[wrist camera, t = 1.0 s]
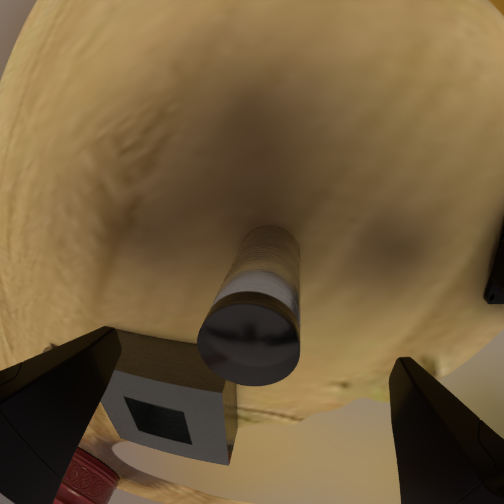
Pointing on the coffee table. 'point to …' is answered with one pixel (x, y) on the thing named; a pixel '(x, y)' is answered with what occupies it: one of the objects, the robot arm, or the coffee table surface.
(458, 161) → the coffee table surface
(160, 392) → the chuck block
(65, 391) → the robot arm
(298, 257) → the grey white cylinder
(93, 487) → the canister
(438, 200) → the coffee table surface
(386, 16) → the coffee table surface
